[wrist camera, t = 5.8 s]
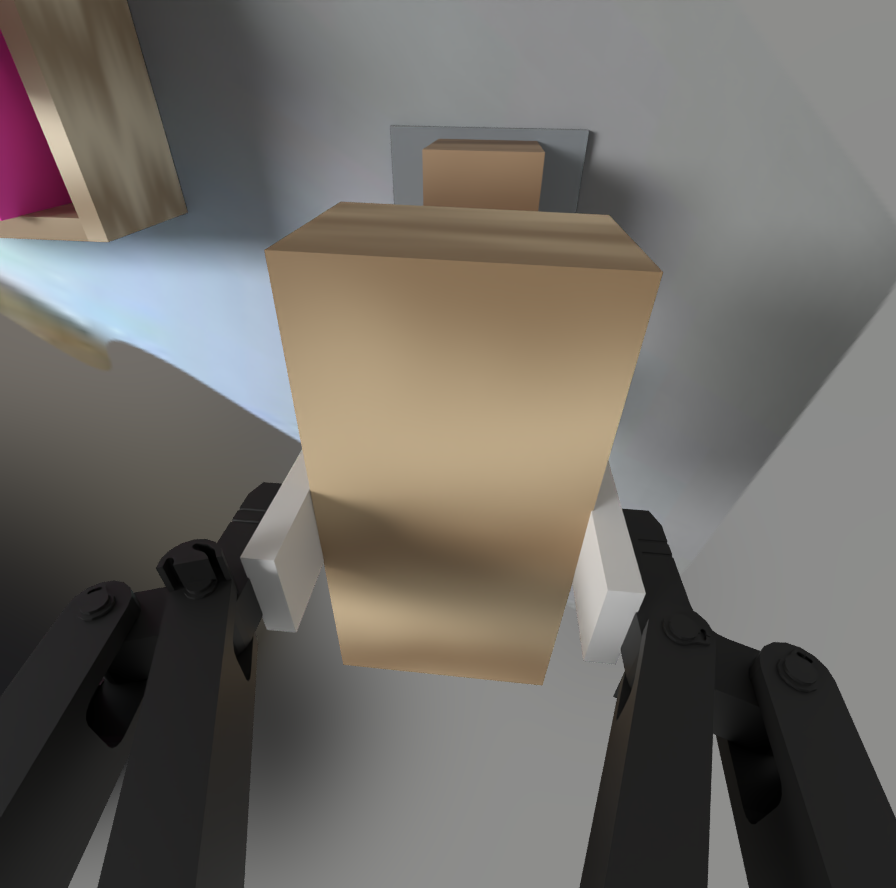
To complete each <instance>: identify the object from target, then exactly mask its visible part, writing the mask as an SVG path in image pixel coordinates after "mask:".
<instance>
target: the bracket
mask: <svg viewBox="0 0 896 888" xmlns="http://www.w3.org/2000/svg"><path fill="white" fill-rule="evenodd" d="M69 203H72V200H71V198H70V195H69V193H68V190H67V188H66V186H65V183H64V181H63V178H62V176H61V174H60V171H59V169H58V166H57V164H56V162H55V159H54V157H53V154H52V152H51V150H50V147H49V145H48V142H47V140H46V138H45V135H44V133H43V130H42V128H41V126H40V123H39V121H38V118H37V116H36V114H35V111H34V109H33V106H32V104H31V102H30V99H29V97H28V94H27V92H26V89H25V87H24V85H23V82H22V80H21V77H20V75H19V73H18V70H17V68H16V65H15V63H14V61H13V58H12V56H11V53H10V51H9V49H8V46H7V44H6V41H5V39H4V37H3V34H2V32H1V29H0V221H3V220H7V219H11V218H15V217H18V216H21V215H25V214H29V213H33V212H37V211H41V210H45V209H49V208H53V207H57V206H61V205H65V204H69Z"/></svg>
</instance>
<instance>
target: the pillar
mask: <svg viewBox="0 0 896 888" xmlns="http://www.w3.org/2000/svg"><path fill="white" fill-rule="evenodd" d="M544 157H545V152H544V150H543V149H542V147H541V146H540V145H539V143H538V142H537V141H518V140H474V139H438V140H436V141H434V142H433V143H431V144H430V145H428V146H427V147H425V148H424V149H422V158H423V206H436V207H456V208H476V209H496V210H517V211H537V212H538V209H539V200H540V192H541V183H542V174H543V166H544Z"/></svg>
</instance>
